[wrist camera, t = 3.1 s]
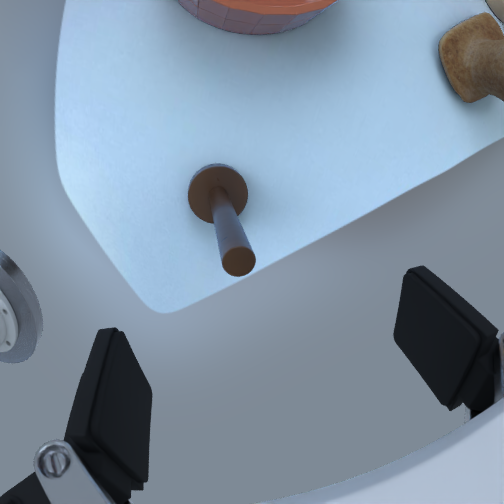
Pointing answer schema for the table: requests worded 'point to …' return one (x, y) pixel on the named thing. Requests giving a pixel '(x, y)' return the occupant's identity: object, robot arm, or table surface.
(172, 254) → the table surface
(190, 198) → the brown disc-based tamper
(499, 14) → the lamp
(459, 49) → the stone cup
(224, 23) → the bowl
